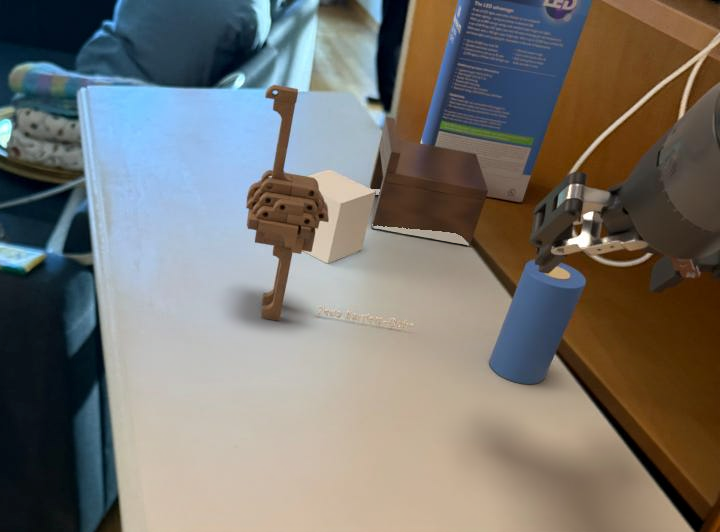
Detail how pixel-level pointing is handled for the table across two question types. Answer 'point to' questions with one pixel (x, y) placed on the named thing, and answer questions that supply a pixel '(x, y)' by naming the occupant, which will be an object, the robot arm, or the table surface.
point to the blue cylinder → (536, 322)
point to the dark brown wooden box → (426, 186)
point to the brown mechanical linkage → (288, 211)
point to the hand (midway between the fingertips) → (599, 269)
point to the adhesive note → (341, 216)
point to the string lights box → (503, 84)
